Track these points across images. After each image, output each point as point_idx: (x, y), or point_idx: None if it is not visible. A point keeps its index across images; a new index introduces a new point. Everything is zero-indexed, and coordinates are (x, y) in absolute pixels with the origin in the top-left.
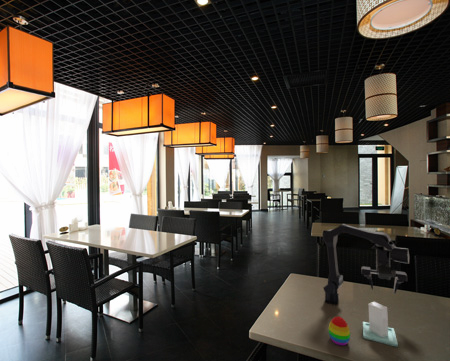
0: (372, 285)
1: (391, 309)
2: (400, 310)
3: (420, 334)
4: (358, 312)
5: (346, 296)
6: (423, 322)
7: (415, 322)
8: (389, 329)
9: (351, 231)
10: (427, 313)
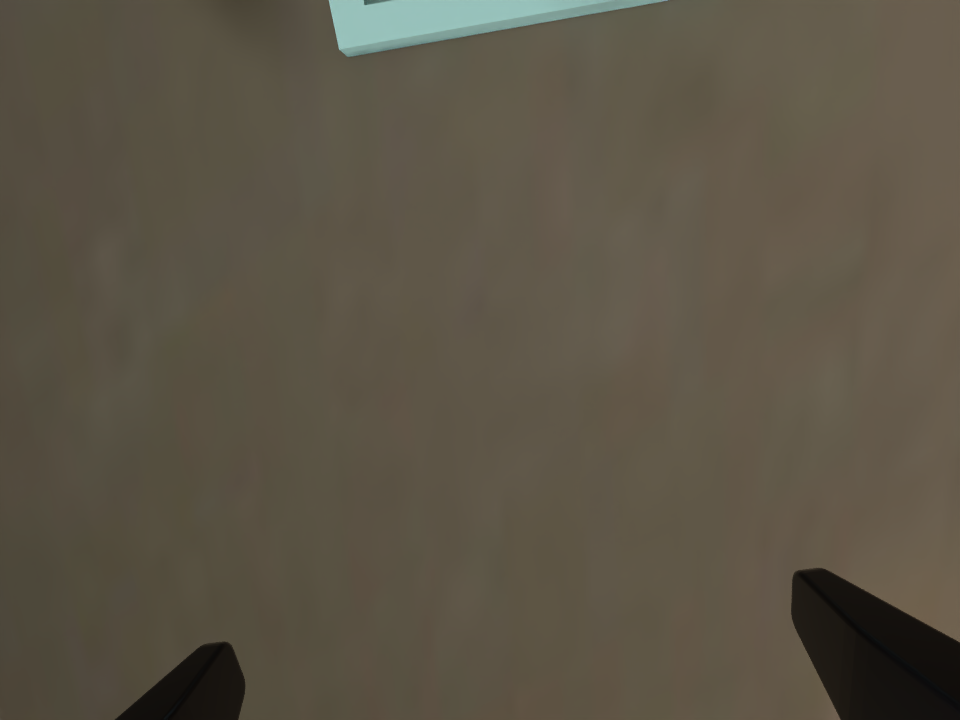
0: (917, 664)
1: (432, 611)
2: (350, 638)
3: (85, 194)
4: (777, 318)
5: None
6: (121, 508)
7: (184, 460)
8: (389, 2)
9: None
10: None
